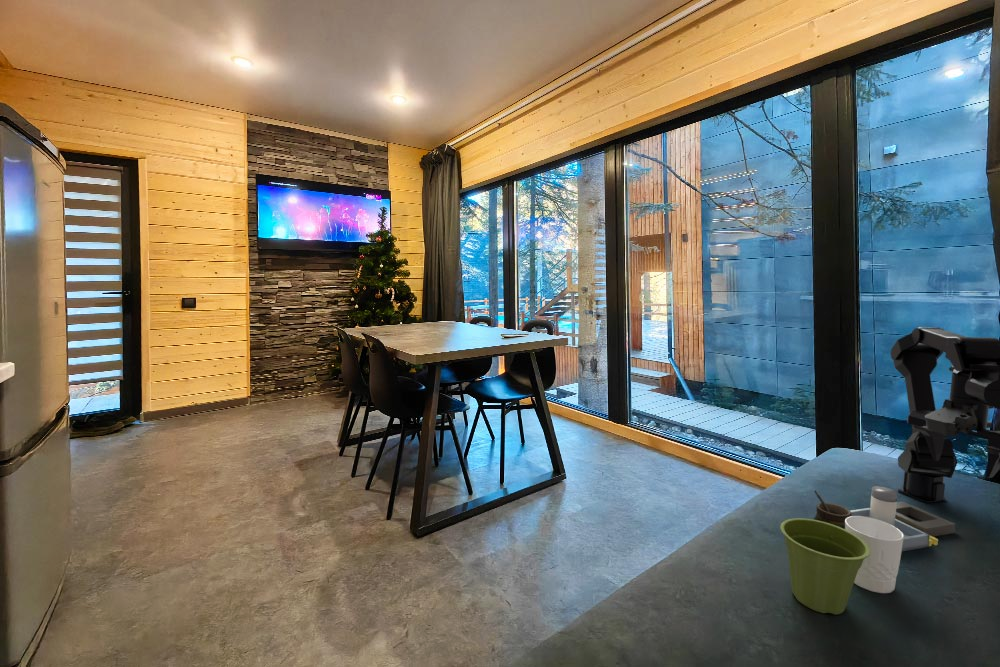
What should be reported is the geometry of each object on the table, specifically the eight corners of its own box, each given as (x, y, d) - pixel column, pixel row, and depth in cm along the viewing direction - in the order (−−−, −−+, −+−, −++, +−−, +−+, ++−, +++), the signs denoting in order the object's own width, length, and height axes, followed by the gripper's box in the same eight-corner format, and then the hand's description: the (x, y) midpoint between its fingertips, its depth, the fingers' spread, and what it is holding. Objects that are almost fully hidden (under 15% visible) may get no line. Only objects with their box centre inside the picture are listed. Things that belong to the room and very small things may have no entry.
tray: (837, 523, 97) (837, 512, 96) (870, 518, 99) (871, 507, 98) (891, 553, 86) (892, 541, 86) (928, 546, 88) (929, 535, 87)
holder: (874, 513, 101) (875, 505, 100) (902, 509, 102) (903, 501, 102) (924, 537, 91) (925, 528, 91) (954, 532, 92) (955, 523, 92)
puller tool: (881, 522, 97) (882, 517, 96) (889, 521, 97) (890, 516, 97) (929, 546, 88) (929, 540, 88) (937, 544, 88) (938, 539, 88)
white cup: (849, 589, 76) (854, 534, 75) (834, 562, 83) (838, 512, 82) (907, 601, 73) (913, 544, 72) (887, 572, 80) (891, 520, 79)
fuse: (863, 527, 94) (866, 487, 93) (878, 525, 94) (882, 485, 94) (883, 538, 90) (887, 496, 89) (898, 535, 91) (902, 494, 90)
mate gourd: (842, 562, 83) (845, 511, 82) (800, 542, 90) (802, 495, 89) (862, 550, 87) (865, 502, 86) (819, 532, 93) (822, 487, 92)
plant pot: (871, 638, 65) (877, 568, 64) (776, 608, 72) (780, 543, 70) (857, 591, 75) (863, 529, 74) (776, 568, 82) (779, 511, 80)
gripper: (891, 388, 99) (885, 455, 101) (998, 411, 81) (989, 492, 83) (929, 386, 102) (923, 451, 103) (1042, 407, 83) (1032, 486, 85)
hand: (961, 468), depth 94 cm, fingers open, 9 cm apart
